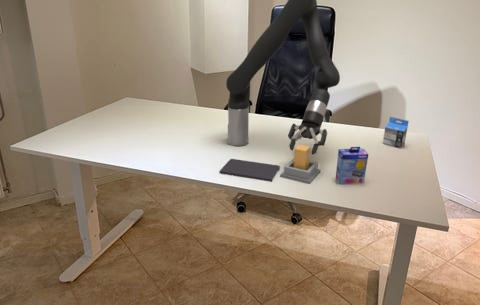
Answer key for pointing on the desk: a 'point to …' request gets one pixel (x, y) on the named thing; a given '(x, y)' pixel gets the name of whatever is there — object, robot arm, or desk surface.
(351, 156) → the ink cartridge box
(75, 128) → the desk surface
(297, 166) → the orange cap block
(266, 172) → the notebook
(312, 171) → the square socket
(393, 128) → the blue grey product box
